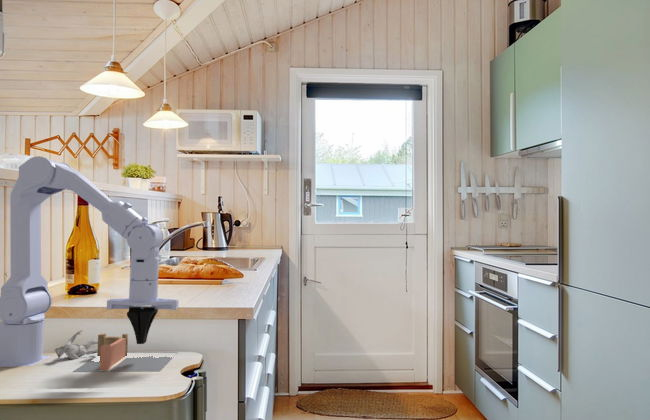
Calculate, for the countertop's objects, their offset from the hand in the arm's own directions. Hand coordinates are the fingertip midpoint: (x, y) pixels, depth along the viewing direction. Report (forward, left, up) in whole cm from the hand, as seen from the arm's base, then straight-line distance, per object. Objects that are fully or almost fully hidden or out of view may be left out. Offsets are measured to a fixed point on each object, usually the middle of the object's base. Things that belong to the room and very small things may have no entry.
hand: (141, 342), depth 95 cm
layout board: (-2, 0, -5) cm, 5 cm away
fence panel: (-5, -2, -4) cm, 6 cm away
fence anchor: (-8, +4, -4) cm, 10 cm away
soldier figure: (-15, +6, -5) cm, 16 cm away
